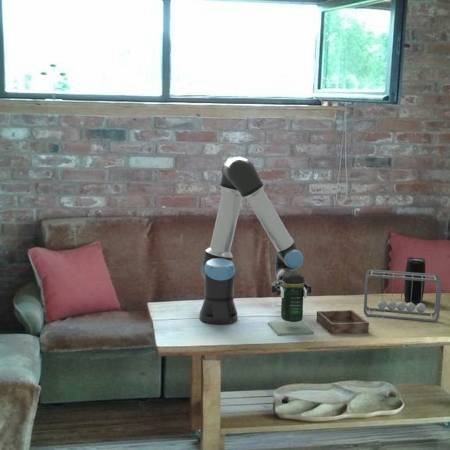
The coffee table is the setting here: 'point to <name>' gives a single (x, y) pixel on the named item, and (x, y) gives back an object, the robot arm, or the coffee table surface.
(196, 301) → the coffee table surface
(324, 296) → the coffee table surface
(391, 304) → the newton's cradle
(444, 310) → the coffee table surface
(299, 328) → the sage mat
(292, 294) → the coffee jar
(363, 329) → the walnut caddy
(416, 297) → the portable speaker
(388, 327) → the coffee table surface
